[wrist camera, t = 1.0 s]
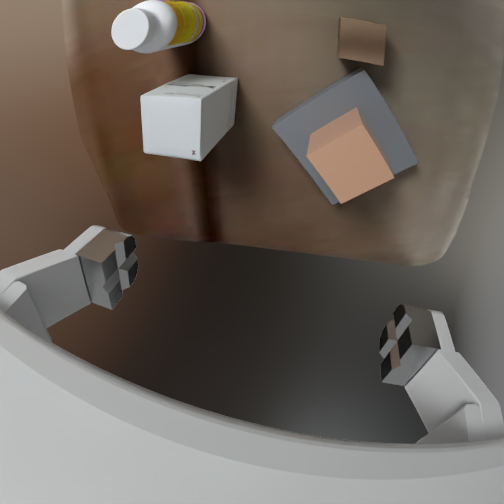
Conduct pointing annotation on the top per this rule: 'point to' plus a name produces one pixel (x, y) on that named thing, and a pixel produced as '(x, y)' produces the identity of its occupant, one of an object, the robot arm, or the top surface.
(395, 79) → the top surface
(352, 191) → the terracotta block
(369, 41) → the walnut block
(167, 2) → the supplement bottle
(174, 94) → the supplement box
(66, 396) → the robot arm
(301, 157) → the base slab
